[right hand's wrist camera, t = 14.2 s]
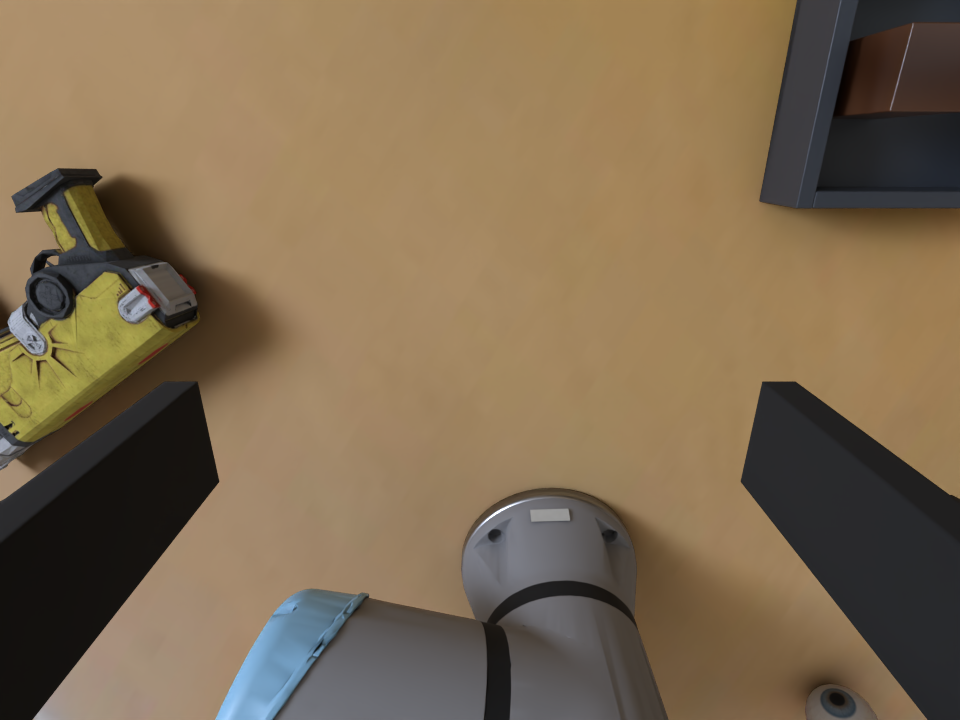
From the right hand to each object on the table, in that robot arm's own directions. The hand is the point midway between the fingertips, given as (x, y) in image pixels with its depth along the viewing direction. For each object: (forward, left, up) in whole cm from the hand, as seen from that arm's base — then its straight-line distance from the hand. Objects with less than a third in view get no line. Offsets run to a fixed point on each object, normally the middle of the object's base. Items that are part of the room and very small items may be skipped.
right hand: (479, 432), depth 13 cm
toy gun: (-5, +33, -27) cm, 43 cm away
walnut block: (+10, -23, -26) cm, 36 cm away
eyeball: (-45, -35, -27) cm, 63 cm away
